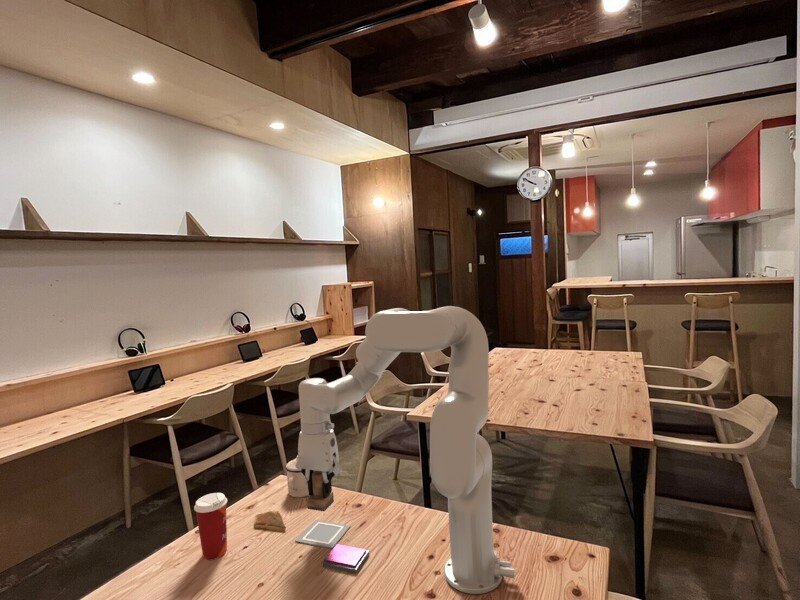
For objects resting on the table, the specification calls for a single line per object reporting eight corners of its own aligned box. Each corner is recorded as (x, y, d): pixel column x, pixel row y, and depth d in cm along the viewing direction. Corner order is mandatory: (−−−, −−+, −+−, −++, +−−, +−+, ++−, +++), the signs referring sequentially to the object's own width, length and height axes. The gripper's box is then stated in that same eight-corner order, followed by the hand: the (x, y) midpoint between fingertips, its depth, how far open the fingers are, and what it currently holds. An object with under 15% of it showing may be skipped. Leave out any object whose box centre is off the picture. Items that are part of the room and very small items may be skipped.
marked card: (350, 526, 118) (350, 525, 118) (332, 548, 109) (332, 547, 109) (315, 520, 122) (315, 519, 122) (295, 541, 113) (294, 540, 113)
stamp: (333, 501, 117) (331, 469, 116) (324, 511, 112) (322, 478, 111) (317, 499, 118) (315, 467, 118) (307, 508, 114) (305, 476, 113)
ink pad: (369, 554, 106) (368, 548, 106) (356, 573, 99) (355, 567, 99) (336, 548, 109) (336, 542, 109) (322, 566, 102) (321, 560, 102)
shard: (286, 533, 118) (285, 526, 118) (257, 542, 115) (256, 535, 114) (279, 514, 128) (278, 508, 127) (251, 522, 124) (251, 516, 124)
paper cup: (236, 551, 110) (232, 497, 110) (206, 567, 105) (201, 510, 104) (222, 539, 116) (218, 488, 115) (193, 554, 110) (188, 500, 109)
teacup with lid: (296, 483, 146) (293, 449, 145) (321, 485, 143) (318, 450, 143) (277, 501, 134) (274, 465, 133) (304, 504, 132) (301, 466, 131)
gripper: (350, 423, 114) (354, 491, 115) (297, 419, 120) (301, 483, 121) (336, 434, 107) (341, 505, 108) (280, 428, 113) (285, 497, 114)
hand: (320, 493), depth 115 cm, fingers closed on stamp, 3 cm apart
